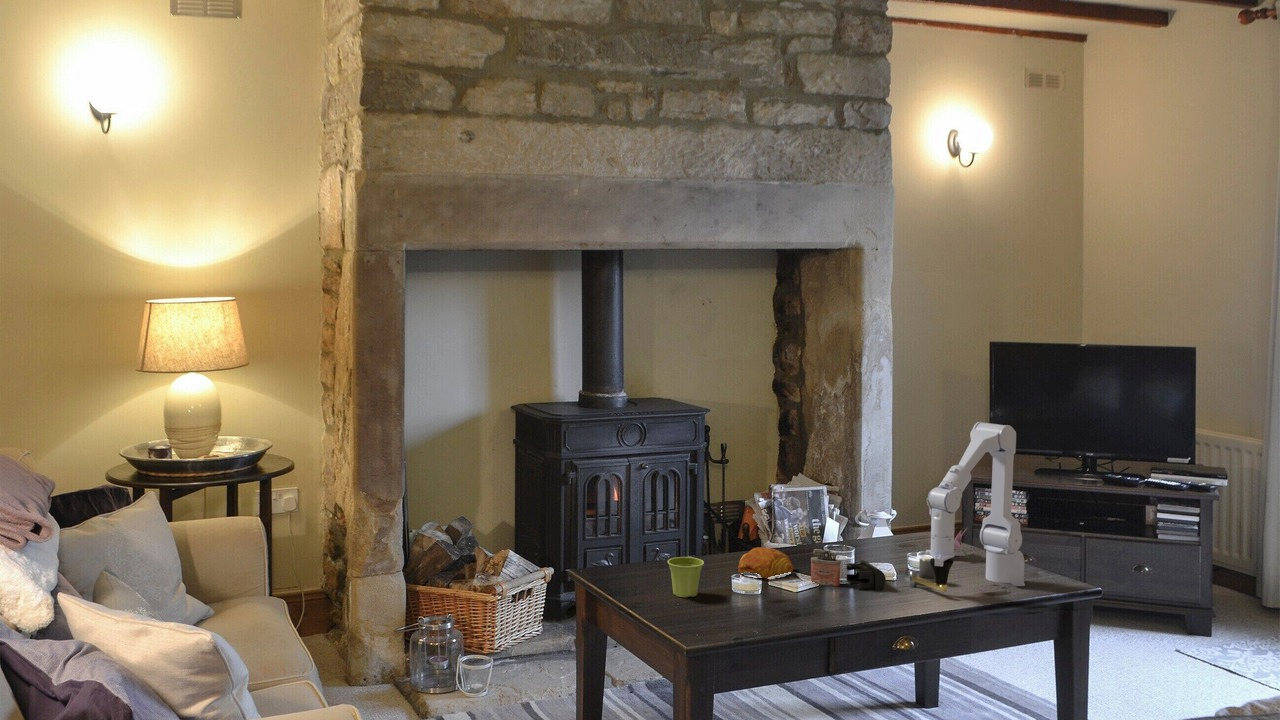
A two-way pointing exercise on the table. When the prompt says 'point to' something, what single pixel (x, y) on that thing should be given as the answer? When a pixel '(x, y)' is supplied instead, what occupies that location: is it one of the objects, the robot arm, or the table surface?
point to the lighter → (825, 568)
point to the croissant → (765, 562)
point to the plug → (926, 570)
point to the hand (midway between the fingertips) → (941, 587)
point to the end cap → (866, 576)
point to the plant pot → (685, 575)
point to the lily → (959, 542)
